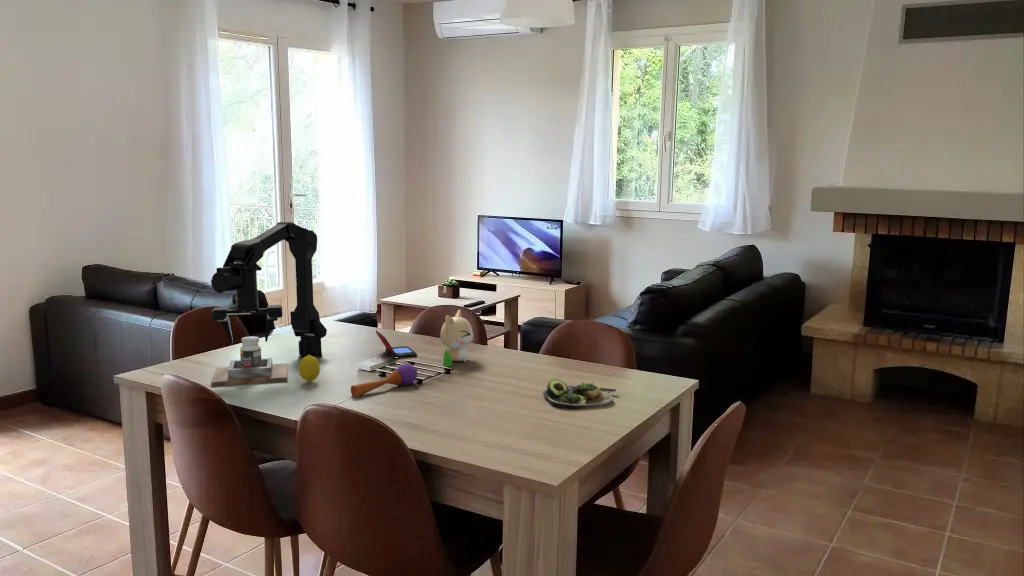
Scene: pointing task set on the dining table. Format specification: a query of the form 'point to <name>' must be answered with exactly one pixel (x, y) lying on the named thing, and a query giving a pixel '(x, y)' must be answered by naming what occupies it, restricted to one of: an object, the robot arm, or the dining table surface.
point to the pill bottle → (250, 352)
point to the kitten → (456, 338)
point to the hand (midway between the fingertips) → (249, 342)
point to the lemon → (309, 368)
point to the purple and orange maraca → (388, 380)
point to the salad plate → (576, 395)
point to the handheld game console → (397, 349)
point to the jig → (250, 373)
